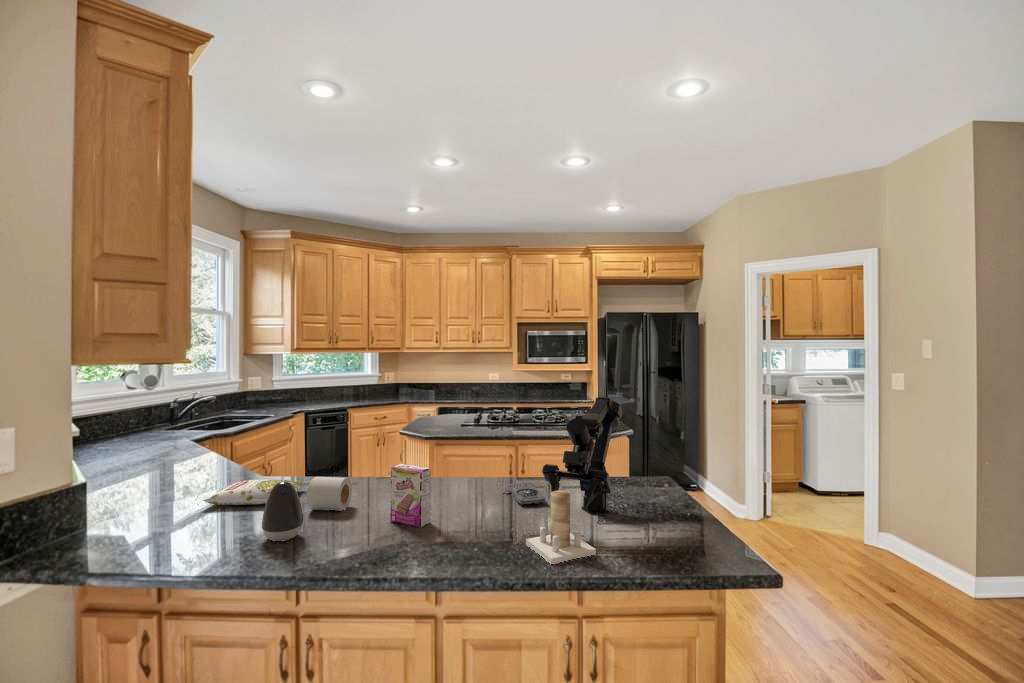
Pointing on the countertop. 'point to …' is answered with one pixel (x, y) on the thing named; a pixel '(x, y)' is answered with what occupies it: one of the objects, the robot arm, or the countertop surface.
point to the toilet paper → (329, 493)
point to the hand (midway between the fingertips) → (569, 504)
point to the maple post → (560, 517)
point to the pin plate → (559, 554)
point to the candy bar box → (410, 495)
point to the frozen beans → (247, 492)
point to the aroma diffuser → (282, 513)
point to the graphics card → (525, 493)
